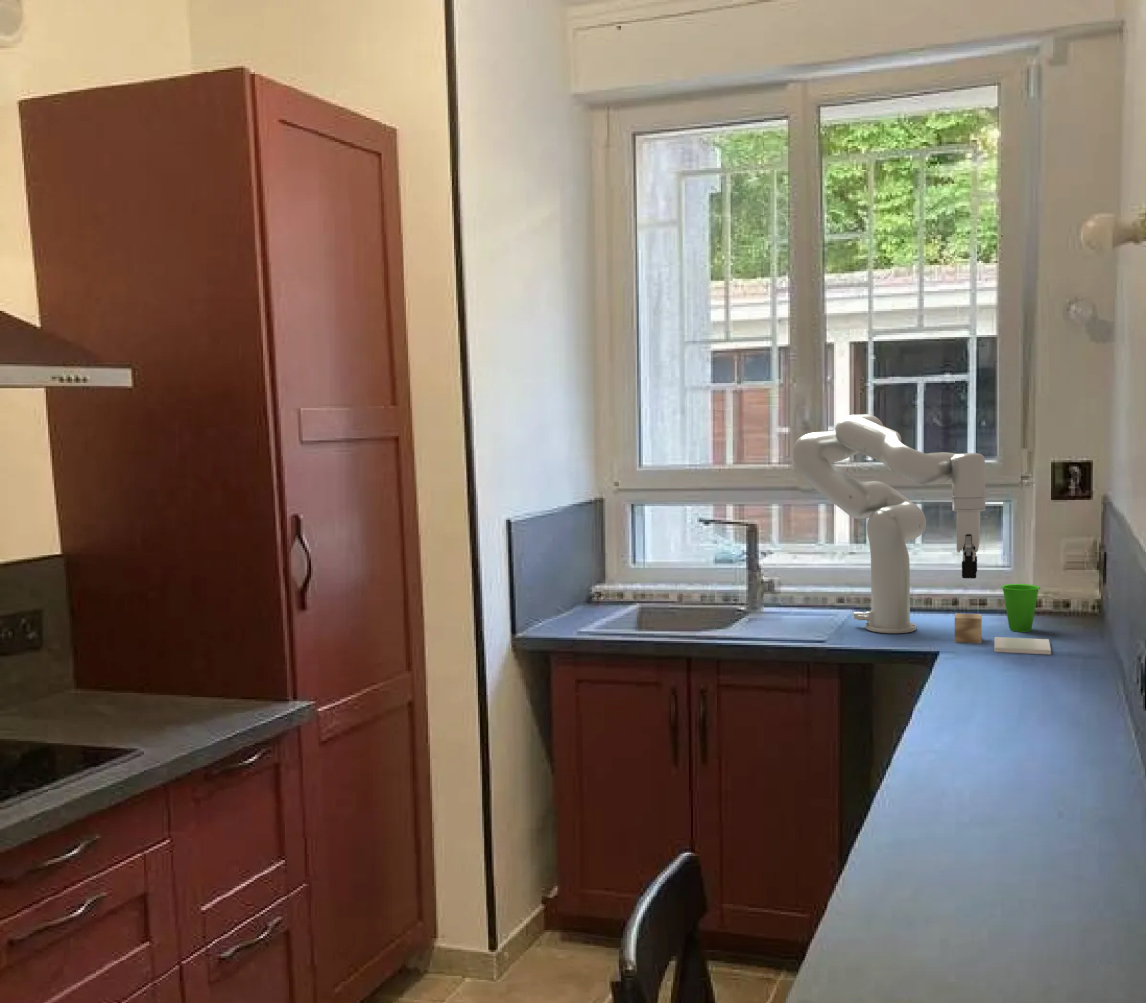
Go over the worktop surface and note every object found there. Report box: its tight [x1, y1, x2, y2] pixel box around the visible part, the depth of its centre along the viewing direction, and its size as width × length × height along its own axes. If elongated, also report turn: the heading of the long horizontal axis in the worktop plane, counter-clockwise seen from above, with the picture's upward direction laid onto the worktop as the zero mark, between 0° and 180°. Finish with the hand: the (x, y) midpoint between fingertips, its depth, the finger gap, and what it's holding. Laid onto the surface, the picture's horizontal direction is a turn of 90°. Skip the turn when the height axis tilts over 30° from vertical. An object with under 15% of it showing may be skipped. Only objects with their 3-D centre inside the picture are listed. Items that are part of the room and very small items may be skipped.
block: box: [954, 612, 983, 644], centre depth 269 cm, size 6×6×6 cm
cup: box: [1001, 583, 1041, 633], centre depth 278 cm, size 9×9×11 cm
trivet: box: [993, 636, 1052, 655], centre depth 259 cm, size 12×12×1 cm
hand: (969, 575), depth 267 cm, fingers open, 9 cm apart
